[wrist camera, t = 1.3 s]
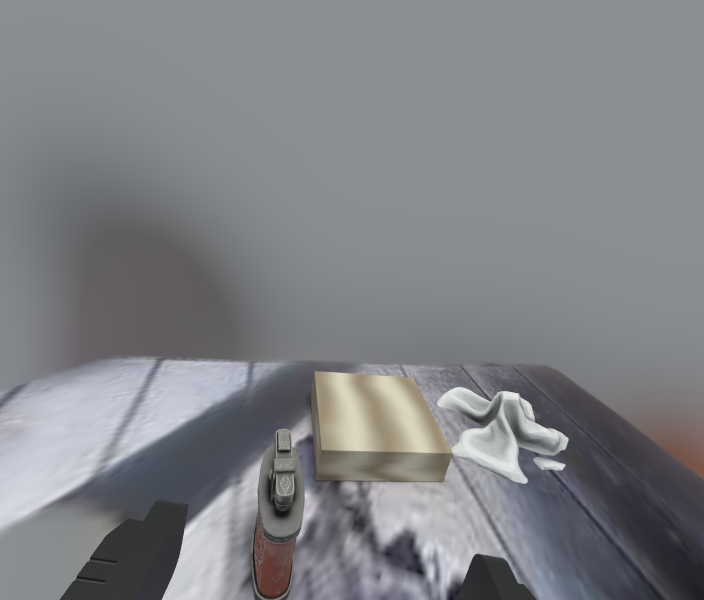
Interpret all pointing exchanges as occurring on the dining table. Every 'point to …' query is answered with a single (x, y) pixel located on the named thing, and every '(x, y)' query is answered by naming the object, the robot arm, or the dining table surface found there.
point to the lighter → (277, 519)
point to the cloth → (502, 432)
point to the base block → (374, 430)
